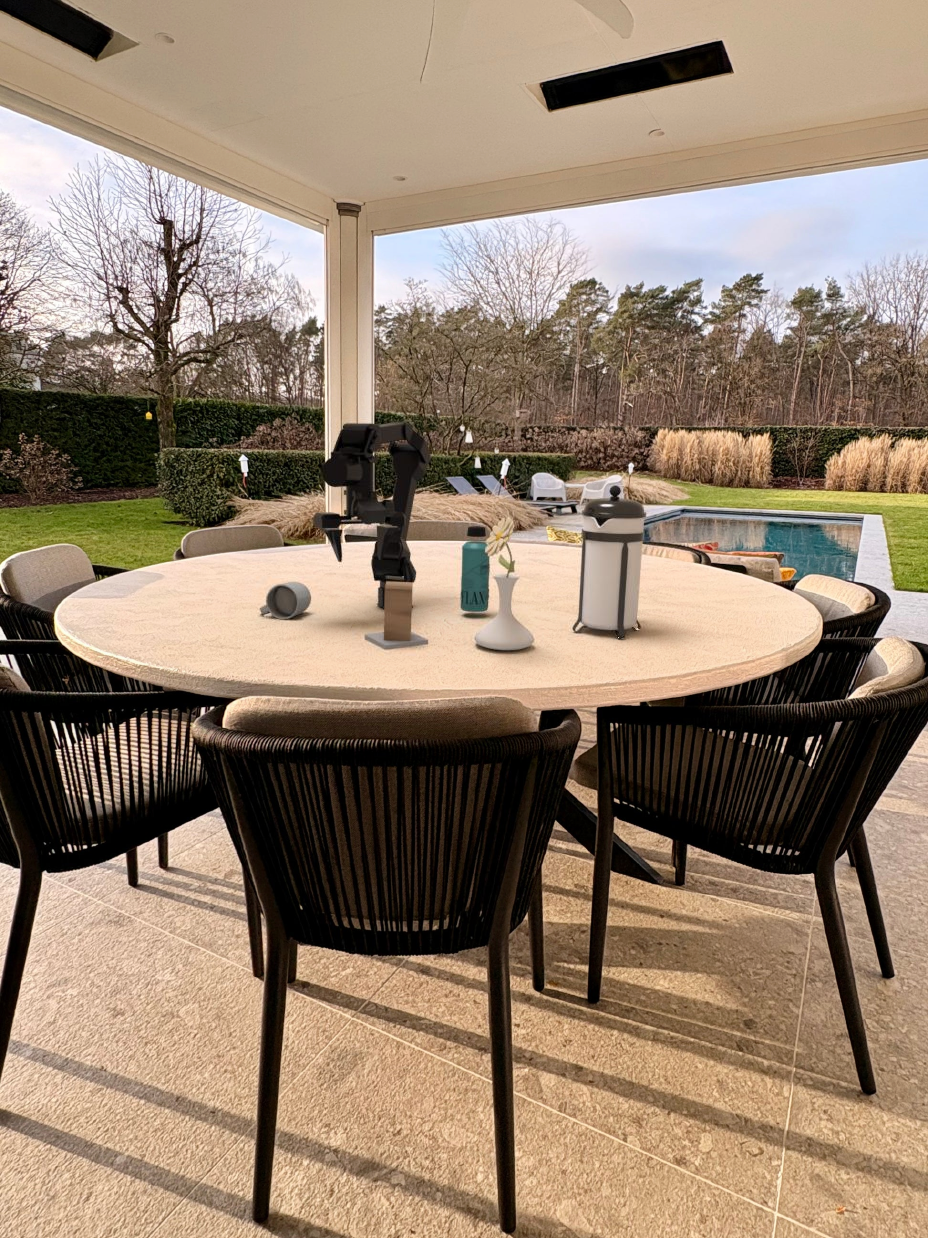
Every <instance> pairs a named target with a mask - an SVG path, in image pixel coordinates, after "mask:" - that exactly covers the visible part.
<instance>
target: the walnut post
mask: <svg viewBox="0 0 928 1238" xmlns="http://www.w3.org/2000/svg"><path fill="white" fill-rule="evenodd" d="M413 584H414V583H413V582H389V581H386V586H385V605H384V608H383V609H384V611H383V612H384V614H383V615H384V616H383V632H384V640H410V638H411V632H412V611H413V608H412V605H413Z"/></svg>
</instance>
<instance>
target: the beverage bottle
mask: <svg viewBox="0 0 928 1238" xmlns="http://www.w3.org/2000/svg"><path fill="white" fill-rule="evenodd" d="M466 532H467V533H466V536H467V537H471V538H483V537H487V533H486V527H485V526H480V525H474V526H473V525H472V526H468V527H467V531H466ZM487 545H488V543H486V541H481V540H480V541H479V540H471V541H466V542H465V543H464V544H463V545H462V546H461V551H462V552H461V578H460V594H459V595H460V599H459V601H460V603H459V604H460V605H459V606H460V609H461V611H463V612H469V613H470V612H471V613H481V612H487V611H488V609H489V603H490V601H489V599H490V568H491V565H490V557H491V556H488V553H485V548H486V547H487Z"/></svg>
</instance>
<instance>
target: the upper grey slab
mask: <svg viewBox="0 0 928 1238" xmlns="http://www.w3.org/2000/svg"><path fill="white" fill-rule="evenodd" d="M364 640H365V641H367V642H369V643H371V644H374V645H375V646H377V647H378V648H379V647H380V648H382V649H383V650H393V649H401V648H409V647H417V646H424V645H428V644H429V639H427V638H425V637H423V636H421V635H419V634H417V633H414V632H412V631H411V638H410V640H384V631H381V632H374V633H373V632H372V633H365V634H364Z"/></svg>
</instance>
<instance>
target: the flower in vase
mask: <svg viewBox="0 0 928 1238" xmlns="http://www.w3.org/2000/svg"><path fill="white" fill-rule="evenodd" d="M514 529H515V524H514V521H513V518H511V517H510V516H508V517H507V518H505V517H502V518H501V520H500V521H498V523H497V525H493V527H492V531H491V532H490V533H489V537H488V538H486V540H485V542H486V543H487V544H488V545H487V547H486V548H485V553H488V556H490V557H493V556H495V555H498V553H500V552H501V551H502V550H503V549H504V547H506V548H507V551H508V554H509V558H510V559H509V562H508V561H507V560H506V558H504V556H503V555H502V554H500V555H499V557H498V563H499V564H500V565H501V566H502V567H504V569H506V570H507V573H494V574H493V575H492V577H493V579H494V580H495V582H496V584H497V588H498V594H499V605H498V612H497V615H495V616H494V617H493V618H492V619H491V620H489V622H487V623H486V624H485V625H483V626H482V627H481V628H480V629H478V631H477V632H476V633H475V635H474V638H473V639H474V641H475V642H476V644H477V645H479V646H481V647H483V648H486V649H490V650H494V651H495V650H497V651H517V650H522V649H526V648H528V647H531V646H532V645H533V644H534V642H535V637H534V635H533V634H532V632H531V631H530V630H529V629H528V628H527V627H526V626H524V625H523V623H521V622H520V621H519V620H518V619H517V618H516V617H515V616H514V613H513V611H512V599H513V591H514V588H515V585H516V583H517V581H518V580H519V578H520V577H521V576H520V575H519V574H514V573H515V571H516V570H515V563H516V559H514V560H513V556H512V555H513V554H512V552H511V549H510V546H509V544H508V542H509V541H510V540H511V538H512V535H513V532H514Z"/></svg>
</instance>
